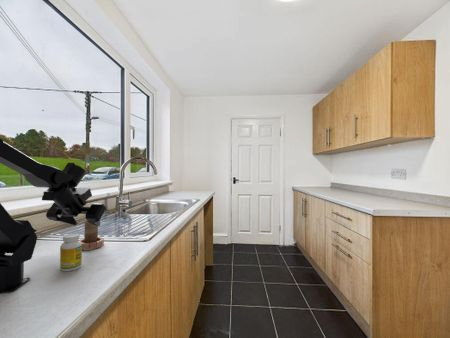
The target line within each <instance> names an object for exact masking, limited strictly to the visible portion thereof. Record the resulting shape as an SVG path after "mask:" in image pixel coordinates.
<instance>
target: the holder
mask: <svg viewBox="0 0 450 338" xmlns="http://www.w3.org/2000/svg"><path fill="white" fill-rule="evenodd" d="M78 241H80V242H81V243H82V251H89V250H95V249H99V248H101V247H103V246H105V244H104V243H105V238H104V237H100V236H98V241H96V242H92V243H84V238H81V239H79V240H78Z"/></svg>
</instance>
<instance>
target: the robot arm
mask: <svg viewBox="0 0 450 338" xmlns="http://www.w3.org/2000/svg"><path fill="white" fill-rule="evenodd" d="M0 164H1V165H3V166H5V167H7V168H9V169H10V170H13V171H15V172H17V173H19V174H20V175H22V176H23V177H24V179H25V181H26V182H28V183H29V184H30V185H32V186H33V187H35V188H47V190H45V191H43V195H42V196H41V201H45V202H46V201H48V202H49V201H50V202H51V201H52V202H53V203H52V205H51V206H50V208H48V210H47V211H46V212H45V216H46V218H47V219H48V220H49V221H53V222H58V223H59V222H60V223H63V224H68V225H71V226H77V224H78V222H77V220H76V219H75V218H78V216H79V215H84V216H85V219H86V220H88V222H89V223H91V224H93V225H95V226H98V228H99V227H100V226H101V218H102V217H103V215H104V213H105V211H106V209H107V207H106V206H105V204H104V203H92V204H90V206H86V205H87V203H88V202H87V201H88V200H89V199H90V198H91V197H93V195H92V194H93V193H92V191H91V188H90V187H84V186H83V187H78V185H79V184H80V183H81V181H82V180H83V178H84V177H85V175H86V170H85V168H83V167H81V166H80V165H78V164H76V163H74V162H67V163H66V165H65V167H64V168H63V169H62V170H61V168H58V167H55V166H53V165H48V164H45V163H44V164H43V163H41V162H38V161H37V160H35V159H34V158H31V157H30V156H28V155H26V154H25V153H24V152H22V151H20V150H19V149H17V148H15V147H14V146H12V145H10V144H9V143H7V142H5V141H4V140H3V139H2V137H1V138H0ZM37 231H38V230H37V229H35V227H33V226H32V224H31V222H30V221H29V220H27V219H26V220H24V219H23V220H22V219H14V218H13V216H11V214H10V213H9V212H8V210H7V209H6V208H5V207H4V206H3V205H2V203H1V202H0V293H12V292H14V291H16V290H17V289H19V288H20V287H22V286H23V285H24V284H26V283H27V282H29V281H30V280H31V278H30V277H25V276H24V274H25V273H24V267H25V266H24V265H25V264H24V263H25V262H27V261H30V260H32V257H33V255H34V251H35V248H36V244H37V239H38V236H37V234H36V232H37ZM10 254H11V255H10Z"/></svg>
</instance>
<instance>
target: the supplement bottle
mask: <svg viewBox="0 0 450 338" xmlns="http://www.w3.org/2000/svg"><path fill="white" fill-rule="evenodd" d="M79 240H80V234H79V233H68V234H65V235H64V236H62V241H63V243H61V244H60V248H59V256H60V257H59V269H60V271H61V272H71V271H76V270H78V269H79V268H81V267H82V260H83V259H82V256H83V255H82V251H83V250H82V243H81V242H80V241H79Z"/></svg>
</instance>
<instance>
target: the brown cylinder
mask: <svg viewBox="0 0 450 338" xmlns="http://www.w3.org/2000/svg"><path fill="white" fill-rule="evenodd" d="M83 231H84V234H83V235H84V238H83V239H84V243H92V242H96V241H98V237H99V227H98V226H95V225H93V224H91V223H89V222H88V220H86V218H85V219H84V229H83Z"/></svg>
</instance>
